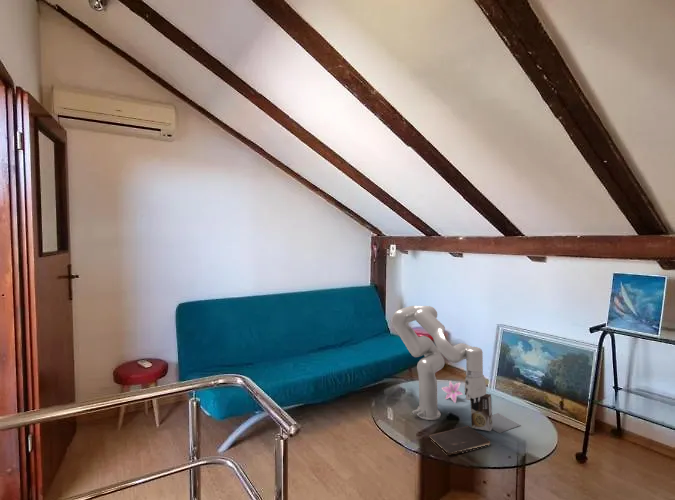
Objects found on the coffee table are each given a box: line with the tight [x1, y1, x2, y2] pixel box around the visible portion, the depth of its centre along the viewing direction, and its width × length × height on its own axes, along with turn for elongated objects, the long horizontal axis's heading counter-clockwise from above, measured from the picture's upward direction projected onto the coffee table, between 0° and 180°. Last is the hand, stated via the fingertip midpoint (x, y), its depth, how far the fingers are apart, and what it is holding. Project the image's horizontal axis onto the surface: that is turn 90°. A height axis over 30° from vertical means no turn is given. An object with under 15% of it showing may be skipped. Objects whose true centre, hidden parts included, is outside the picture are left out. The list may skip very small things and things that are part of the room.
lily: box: [441, 380, 464, 404], centre depth 222 cm, size 12×12×10 cm
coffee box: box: [469, 393, 493, 432], centre depth 189 cm, size 9×6×16 cm
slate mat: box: [491, 412, 522, 434], centre depth 194 cm, size 15×14×1 cm
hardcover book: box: [427, 425, 491, 453], centre depth 178 cm, size 16×23×2 cm
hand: (475, 409), depth 186 cm, fingers closed
